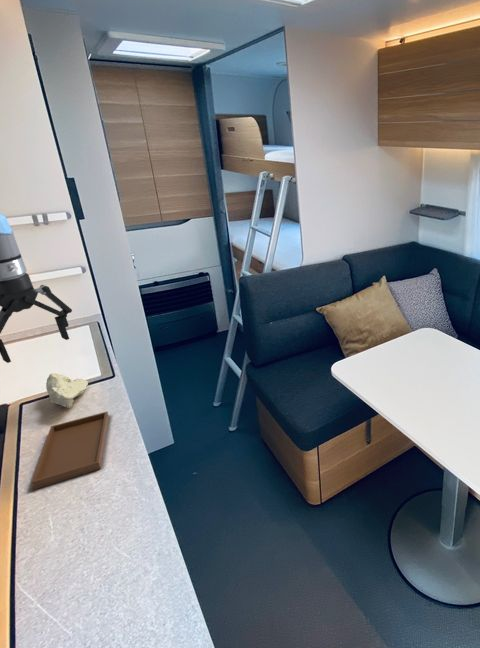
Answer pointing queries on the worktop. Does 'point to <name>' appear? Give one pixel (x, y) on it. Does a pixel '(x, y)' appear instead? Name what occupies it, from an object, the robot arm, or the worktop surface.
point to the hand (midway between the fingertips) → (37, 349)
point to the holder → (72, 450)
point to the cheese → (64, 389)
